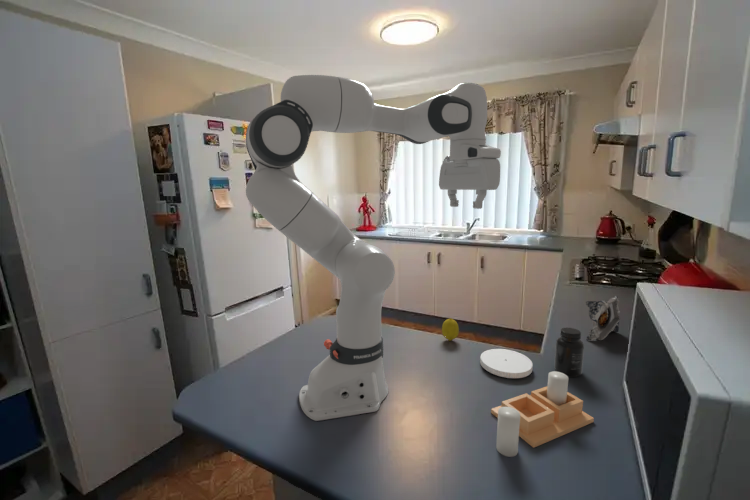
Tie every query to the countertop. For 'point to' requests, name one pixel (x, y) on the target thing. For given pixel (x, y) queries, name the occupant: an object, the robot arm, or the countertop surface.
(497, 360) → the plastic lid
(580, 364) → the supplement bottle
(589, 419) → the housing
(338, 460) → the countertop surface
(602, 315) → the ornate grey picture frame
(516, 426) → the peg
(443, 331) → the lemon
